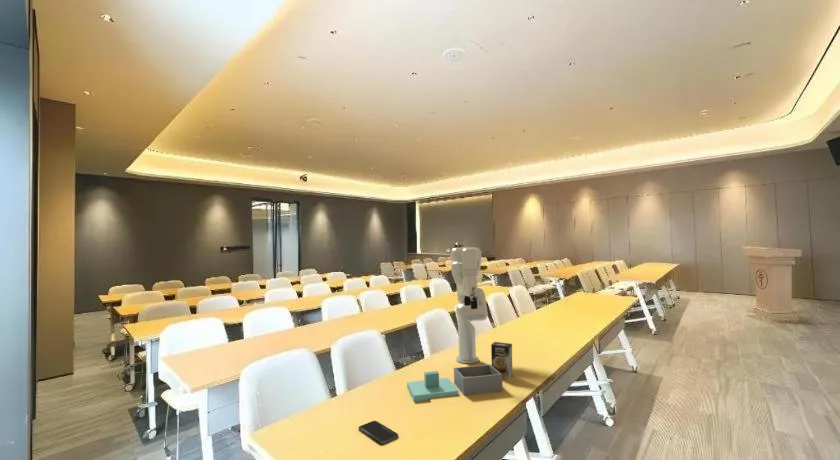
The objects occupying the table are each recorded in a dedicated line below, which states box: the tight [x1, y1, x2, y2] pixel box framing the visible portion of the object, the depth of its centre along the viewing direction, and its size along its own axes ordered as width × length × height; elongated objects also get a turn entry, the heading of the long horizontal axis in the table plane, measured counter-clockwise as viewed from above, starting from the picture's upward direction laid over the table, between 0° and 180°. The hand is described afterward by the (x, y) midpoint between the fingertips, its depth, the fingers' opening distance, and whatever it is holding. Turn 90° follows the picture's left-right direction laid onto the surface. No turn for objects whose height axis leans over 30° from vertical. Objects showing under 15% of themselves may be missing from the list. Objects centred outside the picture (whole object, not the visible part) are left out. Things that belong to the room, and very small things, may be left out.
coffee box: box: [490, 341, 513, 379], centre depth 184 cm, size 9×6×16 cm
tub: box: [453, 363, 504, 396], centre depth 170 cm, size 14×18×8 cm
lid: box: [406, 370, 459, 402], centre depth 168 cm, size 16×20×8 cm
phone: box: [358, 420, 399, 446], centre depth 132 cm, size 8×1×15 cm
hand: (470, 307), depth 186 cm, fingers open, 9 cm apart
